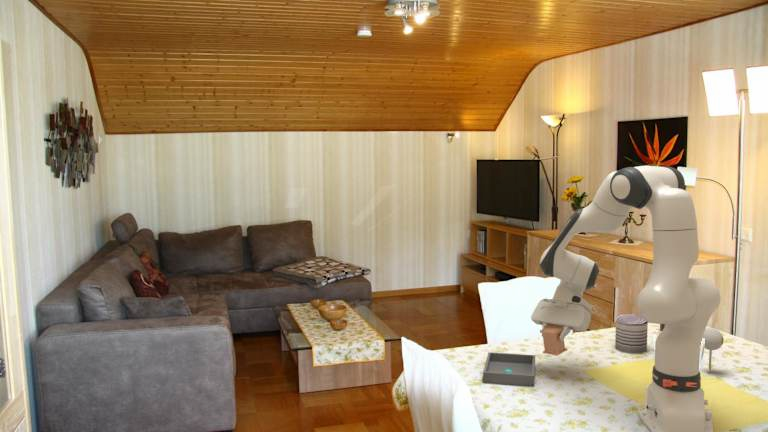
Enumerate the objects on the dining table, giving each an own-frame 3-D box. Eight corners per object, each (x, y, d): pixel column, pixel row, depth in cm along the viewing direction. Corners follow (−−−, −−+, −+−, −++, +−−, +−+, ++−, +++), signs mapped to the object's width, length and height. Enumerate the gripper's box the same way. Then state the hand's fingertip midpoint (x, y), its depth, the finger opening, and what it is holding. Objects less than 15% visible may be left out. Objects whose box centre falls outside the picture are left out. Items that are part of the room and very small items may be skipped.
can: (652, 354, 228) (653, 321, 227) (620, 354, 228) (621, 322, 227) (640, 344, 240) (641, 313, 238) (610, 344, 240) (610, 313, 238)
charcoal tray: (534, 386, 200) (534, 376, 200) (483, 382, 204) (483, 372, 203) (535, 365, 219) (535, 355, 219) (488, 361, 223) (488, 352, 223)
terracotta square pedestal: (553, 347, 211) (550, 325, 210) (567, 350, 206) (564, 327, 205) (542, 352, 207) (539, 330, 206) (557, 355, 203) (554, 332, 202)
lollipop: (720, 378, 204) (723, 332, 203) (696, 374, 208) (698, 329, 206) (722, 371, 210) (724, 327, 209) (698, 367, 214) (700, 324, 212)
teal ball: (516, 372, 206) (509, 376, 208) (509, 365, 206) (503, 369, 208) (513, 377, 203) (506, 381, 205) (507, 370, 204) (500, 374, 205)
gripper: (535, 293, 217) (521, 329, 212) (588, 299, 201) (573, 338, 196) (545, 302, 220) (531, 338, 215) (597, 309, 204) (583, 347, 199)
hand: (552, 338), depth 206 cm, fingers closed on terracotta square pedestal, 5 cm apart
